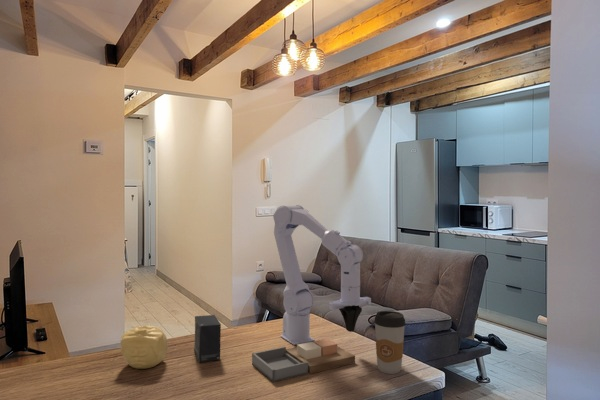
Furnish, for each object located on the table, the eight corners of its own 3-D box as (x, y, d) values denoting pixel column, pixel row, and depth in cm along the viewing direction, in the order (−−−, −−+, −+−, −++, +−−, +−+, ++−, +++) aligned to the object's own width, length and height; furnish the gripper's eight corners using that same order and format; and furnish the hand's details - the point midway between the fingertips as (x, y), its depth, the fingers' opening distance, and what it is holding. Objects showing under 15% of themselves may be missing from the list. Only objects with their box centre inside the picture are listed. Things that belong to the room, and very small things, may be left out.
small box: (221, 360, 118) (222, 323, 118) (198, 363, 115) (198, 326, 115) (215, 347, 128) (215, 313, 128) (193, 350, 125) (193, 315, 125)
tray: (252, 363, 115) (252, 353, 115) (284, 356, 121) (284, 346, 121) (273, 382, 104) (273, 370, 104) (308, 373, 109) (308, 362, 109)
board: (284, 356, 121) (284, 349, 121) (327, 346, 129) (327, 340, 129) (310, 374, 109) (310, 366, 109) (355, 362, 117) (355, 355, 117)
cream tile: (297, 353, 118) (297, 344, 118) (311, 350, 121) (311, 341, 120) (306, 359, 114) (306, 350, 114) (321, 356, 116) (321, 347, 116)
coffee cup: (369, 371, 111) (370, 316, 111) (378, 360, 118) (379, 308, 118) (400, 378, 107) (401, 320, 107) (408, 366, 114) (408, 312, 114)
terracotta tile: (313, 349, 121) (313, 341, 121) (327, 346, 123) (327, 338, 123) (322, 355, 116) (322, 346, 116) (337, 352, 119) (337, 343, 119)
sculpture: (114, 373, 109) (114, 332, 109) (134, 355, 121) (134, 318, 121) (157, 374, 108) (157, 333, 108) (173, 356, 120) (173, 319, 120)
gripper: (338, 291, 117) (338, 338, 117) (377, 285, 125) (377, 330, 125) (324, 286, 123) (324, 331, 123) (362, 281, 131) (362, 324, 131)
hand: (350, 330), depth 124 cm, fingers closed
